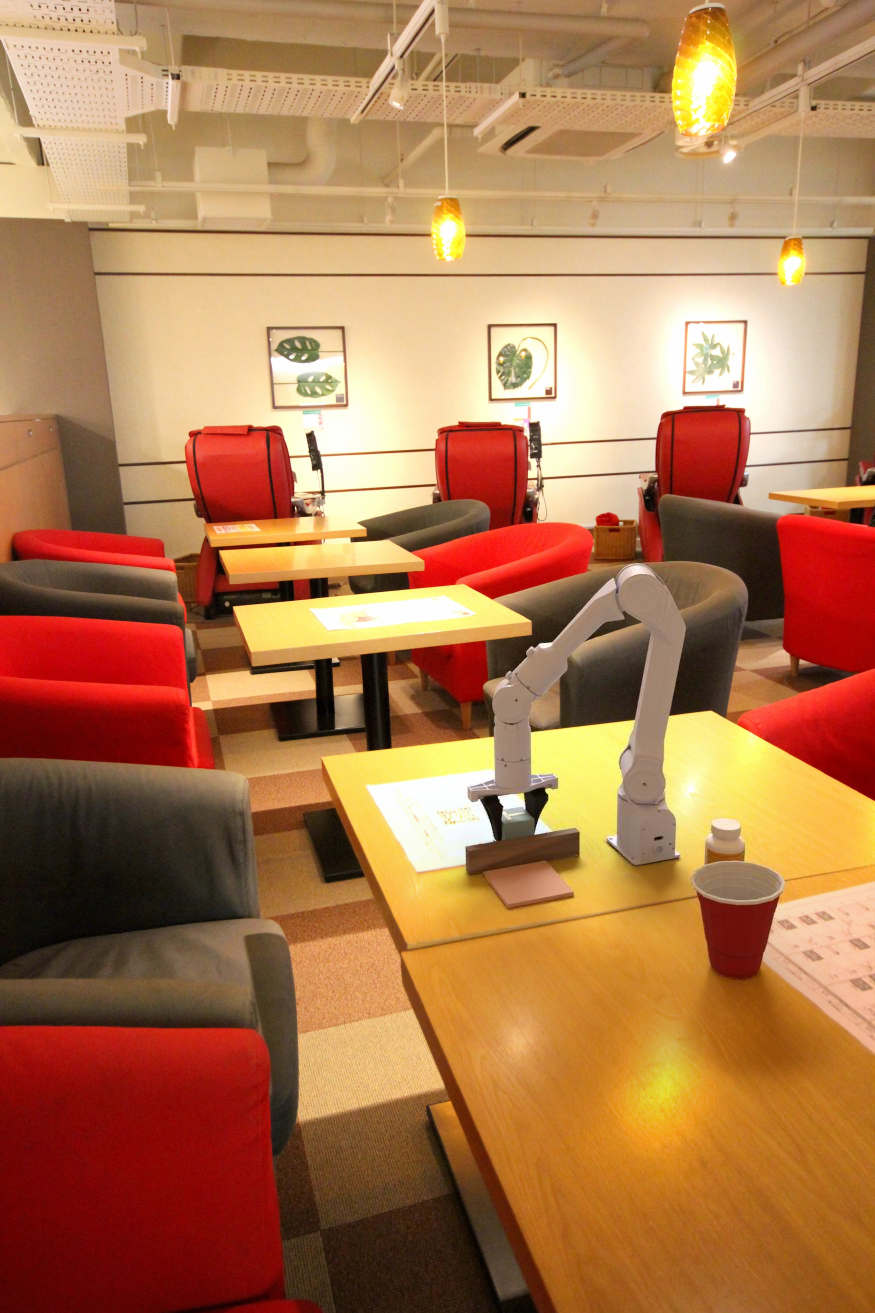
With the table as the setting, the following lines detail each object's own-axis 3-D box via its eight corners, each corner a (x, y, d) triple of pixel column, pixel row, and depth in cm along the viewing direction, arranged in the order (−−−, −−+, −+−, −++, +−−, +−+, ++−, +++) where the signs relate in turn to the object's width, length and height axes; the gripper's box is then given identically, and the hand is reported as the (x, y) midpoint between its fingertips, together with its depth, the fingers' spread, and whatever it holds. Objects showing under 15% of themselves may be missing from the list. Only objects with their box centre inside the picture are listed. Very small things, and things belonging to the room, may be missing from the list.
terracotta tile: (573, 895, 129) (573, 891, 129) (507, 908, 126) (507, 904, 126) (545, 864, 138) (545, 860, 138) (483, 875, 135) (483, 871, 135)
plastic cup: (708, 931, 119) (712, 848, 116) (792, 960, 112) (798, 872, 109) (671, 971, 111) (674, 882, 108) (759, 1004, 104) (765, 910, 101)
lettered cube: (534, 848, 143) (534, 818, 142) (504, 853, 142) (504, 823, 141) (522, 835, 148) (522, 806, 147) (493, 839, 147) (493, 810, 145)
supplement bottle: (748, 895, 127) (751, 832, 125) (709, 896, 127) (712, 832, 125) (736, 876, 132) (739, 815, 130) (699, 877, 132) (701, 816, 130)
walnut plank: (579, 855, 140) (579, 831, 139) (469, 875, 135) (468, 850, 134) (575, 851, 142) (575, 827, 141) (466, 870, 137) (465, 846, 136)
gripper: (545, 741, 147) (546, 818, 150) (460, 753, 143) (462, 832, 146) (563, 755, 140) (563, 836, 144) (475, 769, 136) (477, 851, 140)
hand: (513, 835), depth 145 cm, fingers closed on lettered cube, 5 cm apart
